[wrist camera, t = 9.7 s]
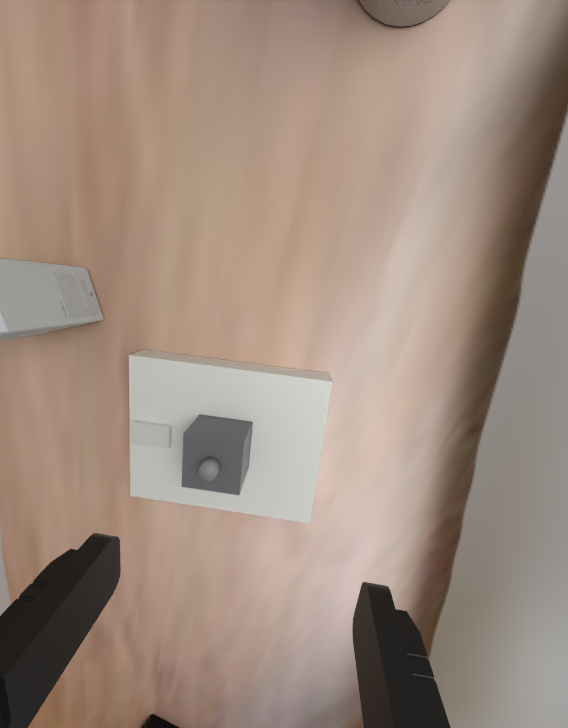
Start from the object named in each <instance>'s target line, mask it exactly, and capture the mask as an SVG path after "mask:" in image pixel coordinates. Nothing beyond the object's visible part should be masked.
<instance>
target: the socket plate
mask: <svg viewBox="0 0 568 728" xmlns="http://www.w3.org/2000/svg"><path fill="white" fill-rule="evenodd" d="M332 383H333V381H332V378H331V375H330V374H329V373H322V372H314V371H306V370H298V369H291V368H283V367H275V366H268V365H260V364H252V363H245V362H237V361H229V360H221V359H214V358H206V357H198V356H191V355H183V354H175V353H167V352H160V351H152V350H143V351H140V352H137V353H134V354H131V355H129V413H130V496H136V497H142V498H149V499H155V500H161V501H168V502H174V503H181V504H187V505H194V506H200V507H207V508H213V509H220V510H226V511H233V512H239V513H246V514H252V515H259V516H265V517H272V518H278V519H285V520H291V521H298V522H304V523H310V520H311V514H312V508H313V501H314V495H315V489H316V483H317V476H318V470H319V464H320V458H321V451H322V445H323V439H324V433H325V426H326V420H327V414H328V408H329V402H330V395H331V389H332ZM200 414H201V415H208V416H215V417H222V418H229V419H237V420H244V421H251V422H253V426H252V437H251V447H250V457H249V468H248V471H247V474H246V477H245V480H244V483H243V486H242V489H241V492H240V495H233V494H226V493H220V492H213V491H206V490H200V489H193V488H186V487H181V486H182V458H183V433H184V432H185V431H186V430H187V429H188V428H189V426H190V425H191V424H192V423H193V422H194V421H195V420H196V419H197V417H198V416H199V415H200Z"/></svg>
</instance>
